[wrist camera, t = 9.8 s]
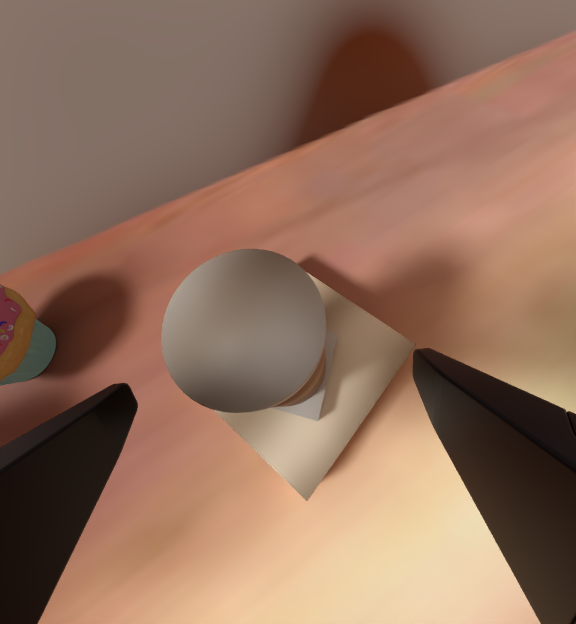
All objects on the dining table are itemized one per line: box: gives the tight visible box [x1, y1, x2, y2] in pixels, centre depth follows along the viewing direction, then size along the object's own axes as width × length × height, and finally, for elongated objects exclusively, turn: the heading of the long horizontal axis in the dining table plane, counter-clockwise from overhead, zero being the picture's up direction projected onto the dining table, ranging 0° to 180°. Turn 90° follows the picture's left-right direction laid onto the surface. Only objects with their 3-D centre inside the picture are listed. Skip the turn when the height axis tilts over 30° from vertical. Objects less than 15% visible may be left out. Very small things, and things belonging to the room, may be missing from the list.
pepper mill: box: [161, 249, 338, 421], centre depth 13 cm, size 5×5×10 cm
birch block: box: [214, 273, 416, 501], centre depth 19 cm, size 11×11×3 cm
